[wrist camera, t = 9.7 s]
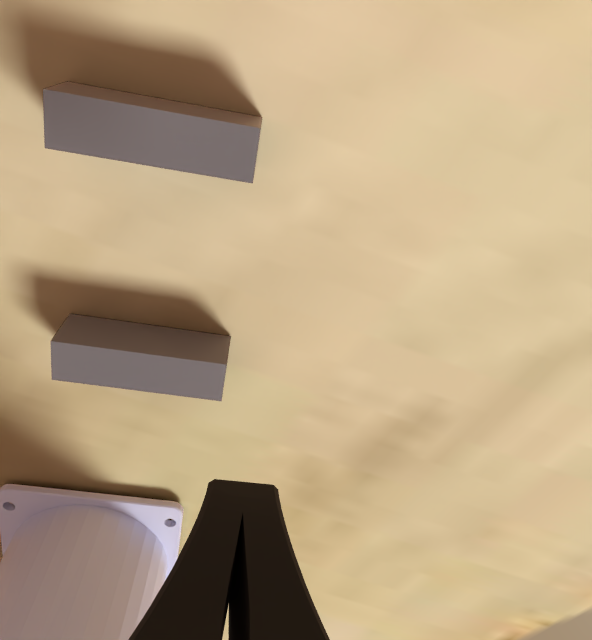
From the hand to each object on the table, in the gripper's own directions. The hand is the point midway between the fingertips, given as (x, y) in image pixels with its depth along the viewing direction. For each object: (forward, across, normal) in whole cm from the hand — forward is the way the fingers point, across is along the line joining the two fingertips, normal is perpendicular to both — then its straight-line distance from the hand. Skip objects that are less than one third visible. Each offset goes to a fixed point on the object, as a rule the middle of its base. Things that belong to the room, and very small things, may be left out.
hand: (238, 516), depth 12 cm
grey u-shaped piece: (+10, +4, -2) cm, 11 cm away
